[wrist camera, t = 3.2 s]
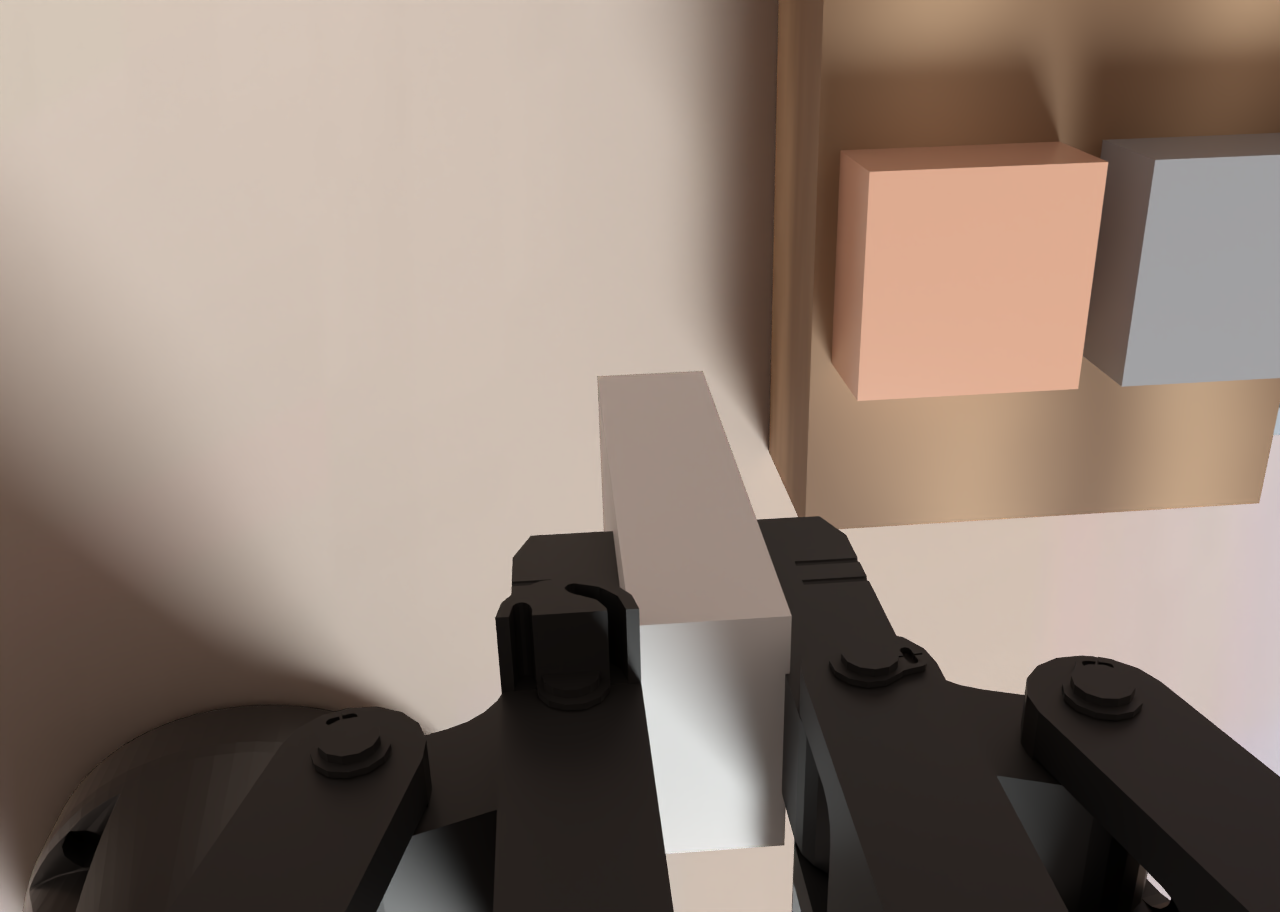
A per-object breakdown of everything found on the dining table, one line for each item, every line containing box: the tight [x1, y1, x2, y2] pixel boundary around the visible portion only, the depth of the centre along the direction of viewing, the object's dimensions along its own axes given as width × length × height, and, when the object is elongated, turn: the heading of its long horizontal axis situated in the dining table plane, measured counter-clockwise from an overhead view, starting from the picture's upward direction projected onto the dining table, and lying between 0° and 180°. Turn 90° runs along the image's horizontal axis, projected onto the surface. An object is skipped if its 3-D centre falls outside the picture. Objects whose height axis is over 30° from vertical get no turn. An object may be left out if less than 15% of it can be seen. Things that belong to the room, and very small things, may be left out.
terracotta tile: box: [831, 142, 1108, 401], centre depth 27 cm, size 5×5×2 cm
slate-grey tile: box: [1083, 133, 1280, 387], centre depth 27 cm, size 5×5×2 cm
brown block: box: [769, 0, 1280, 529], centre depth 30 cm, size 12×14×5 cm
